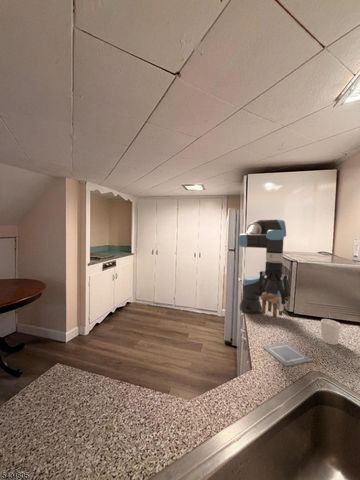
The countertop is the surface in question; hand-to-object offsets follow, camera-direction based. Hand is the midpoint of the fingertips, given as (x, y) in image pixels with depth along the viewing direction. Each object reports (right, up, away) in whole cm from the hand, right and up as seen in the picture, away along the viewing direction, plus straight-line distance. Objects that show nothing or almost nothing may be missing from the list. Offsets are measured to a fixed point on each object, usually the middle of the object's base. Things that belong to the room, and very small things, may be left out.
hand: (272, 307), depth 100 cm
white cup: (+31, -19, +4) cm, 36 cm away
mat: (+3, -18, -8) cm, 20 cm away
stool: (0, -3, 0) cm, 3 cm away
